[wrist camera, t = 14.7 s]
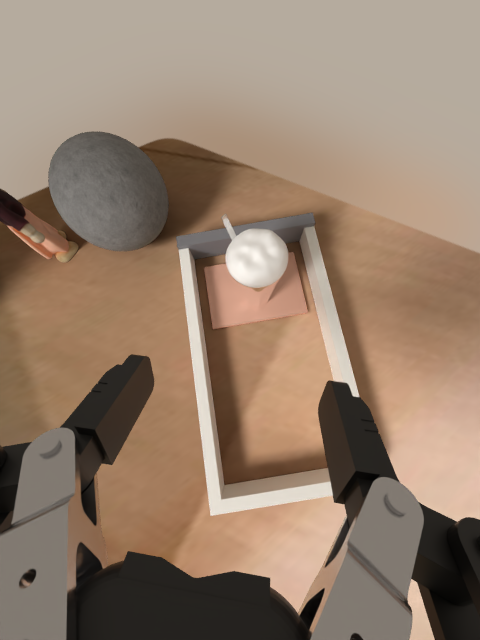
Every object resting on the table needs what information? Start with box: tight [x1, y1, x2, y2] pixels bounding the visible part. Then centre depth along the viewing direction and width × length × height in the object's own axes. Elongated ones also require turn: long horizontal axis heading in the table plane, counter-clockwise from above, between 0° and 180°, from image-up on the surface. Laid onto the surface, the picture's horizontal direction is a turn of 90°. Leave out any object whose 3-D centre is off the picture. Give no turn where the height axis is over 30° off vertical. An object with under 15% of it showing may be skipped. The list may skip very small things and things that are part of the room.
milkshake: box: [221, 214, 288, 307], centre depth 20 cm, size 4×5×10 cm
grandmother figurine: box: [0, 189, 78, 262], centre depth 21 cm, size 8×4×13 cm, turn 57°
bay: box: [176, 213, 359, 516], centre depth 22 cm, size 14×25×3 cm, turn 10°
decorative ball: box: [48, 132, 169, 251], centre depth 23 cm, size 10×10×10 cm
